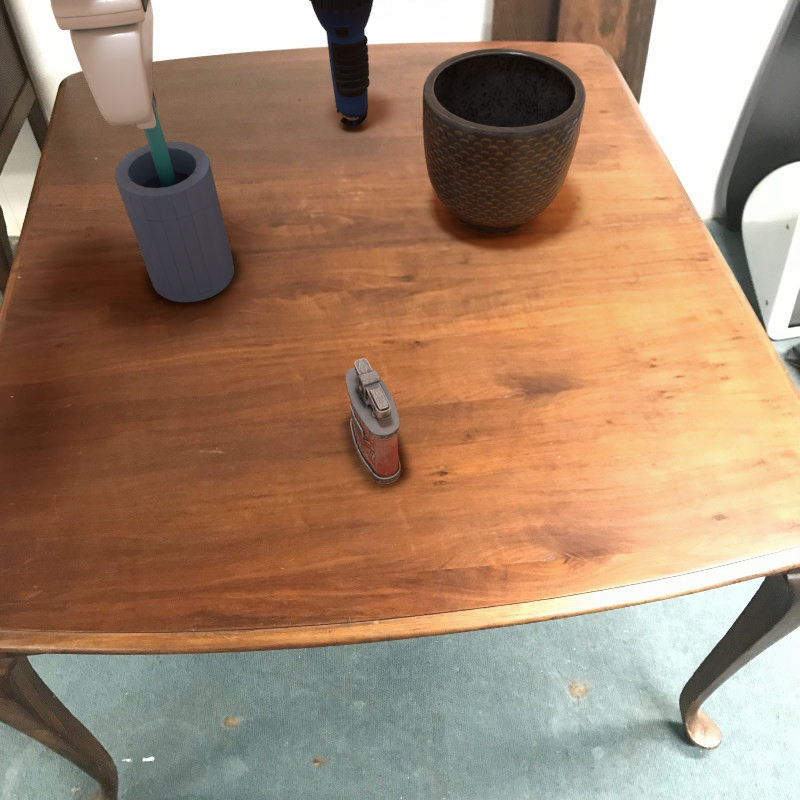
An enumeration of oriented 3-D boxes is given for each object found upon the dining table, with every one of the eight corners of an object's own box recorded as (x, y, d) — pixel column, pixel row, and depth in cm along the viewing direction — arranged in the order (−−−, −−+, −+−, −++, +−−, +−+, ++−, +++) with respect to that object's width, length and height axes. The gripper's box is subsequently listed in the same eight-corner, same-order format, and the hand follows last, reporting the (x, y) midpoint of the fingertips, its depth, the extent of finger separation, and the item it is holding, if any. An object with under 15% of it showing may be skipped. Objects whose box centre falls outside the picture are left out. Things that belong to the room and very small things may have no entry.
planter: (451, 272, 87) (458, 146, 75) (402, 185, 97) (400, 62, 85) (588, 238, 90) (617, 113, 78) (526, 158, 101) (543, 36, 88)
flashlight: (311, 122, 107) (293, -32, 91) (360, 104, 109) (351, -48, 94) (340, 149, 103) (327, -7, 87) (390, 130, 105) (386, -25, 90)
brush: (167, 266, 83) (107, 85, 67) (166, 239, 86) (109, 59, 70) (210, 260, 84) (161, 79, 68) (208, 233, 86) (161, 54, 70)
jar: (151, 307, 84) (112, 201, 73) (152, 253, 90) (116, 147, 79) (236, 295, 85) (210, 189, 74) (232, 242, 91) (207, 136, 80)
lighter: (343, 422, 74) (335, 352, 66) (376, 412, 75) (372, 340, 67) (373, 489, 69) (368, 421, 61) (408, 476, 70) (407, 408, 62)
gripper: (69, -88, 68) (117, 64, 78) (48, 19, 55) (108, 183, 66) (143, -95, 68) (180, 58, 79) (139, 10, 56) (183, 174, 66)
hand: (147, 116), depth 72 cm, fingers closed on brush
